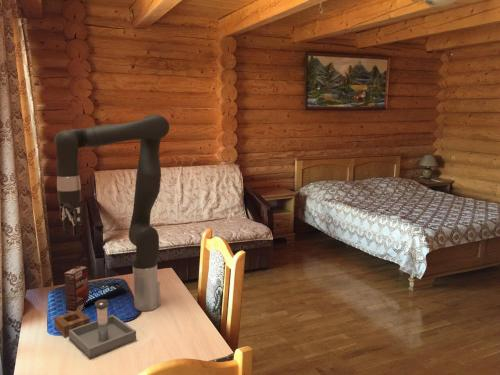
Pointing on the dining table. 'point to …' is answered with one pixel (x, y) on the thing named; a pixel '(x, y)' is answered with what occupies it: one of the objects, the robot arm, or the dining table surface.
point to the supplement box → (76, 288)
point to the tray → (89, 341)
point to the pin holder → (70, 321)
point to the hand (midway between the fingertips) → (72, 233)
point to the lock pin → (102, 319)
